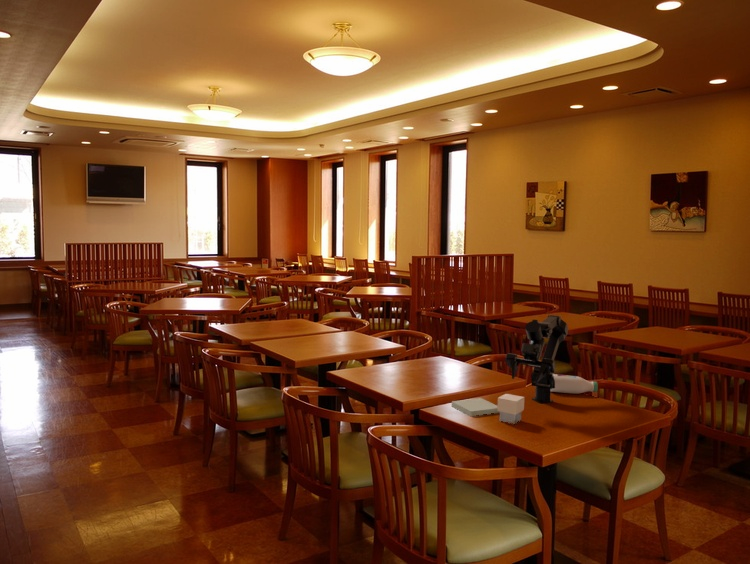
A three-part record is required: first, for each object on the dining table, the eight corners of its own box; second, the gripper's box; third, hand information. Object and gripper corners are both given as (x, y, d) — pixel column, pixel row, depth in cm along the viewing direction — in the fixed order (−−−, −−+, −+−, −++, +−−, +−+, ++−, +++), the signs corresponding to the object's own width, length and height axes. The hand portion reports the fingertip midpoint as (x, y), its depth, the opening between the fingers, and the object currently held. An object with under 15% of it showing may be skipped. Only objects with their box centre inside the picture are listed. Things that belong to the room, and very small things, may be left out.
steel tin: (505, 417, 233) (506, 396, 232) (520, 420, 229) (521, 399, 228) (499, 421, 228) (500, 400, 227) (514, 424, 224) (515, 403, 224)
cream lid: (505, 406, 233) (505, 393, 233) (523, 410, 229) (524, 397, 228) (497, 410, 227) (497, 397, 227) (516, 414, 223) (516, 401, 223)
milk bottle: (549, 394, 270) (595, 399, 267) (551, 384, 264) (599, 389, 262) (548, 380, 275) (594, 385, 272) (550, 370, 270) (597, 374, 267)
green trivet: (480, 402, 251) (480, 398, 251) (501, 412, 238) (501, 407, 238) (451, 406, 245) (451, 401, 245) (471, 416, 233) (471, 411, 232)
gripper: (508, 332, 241) (496, 364, 233) (555, 338, 232) (545, 371, 223) (513, 350, 248) (502, 381, 240) (559, 356, 239) (549, 389, 230)
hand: (524, 380), depth 233 cm, fingers open, 9 cm apart
